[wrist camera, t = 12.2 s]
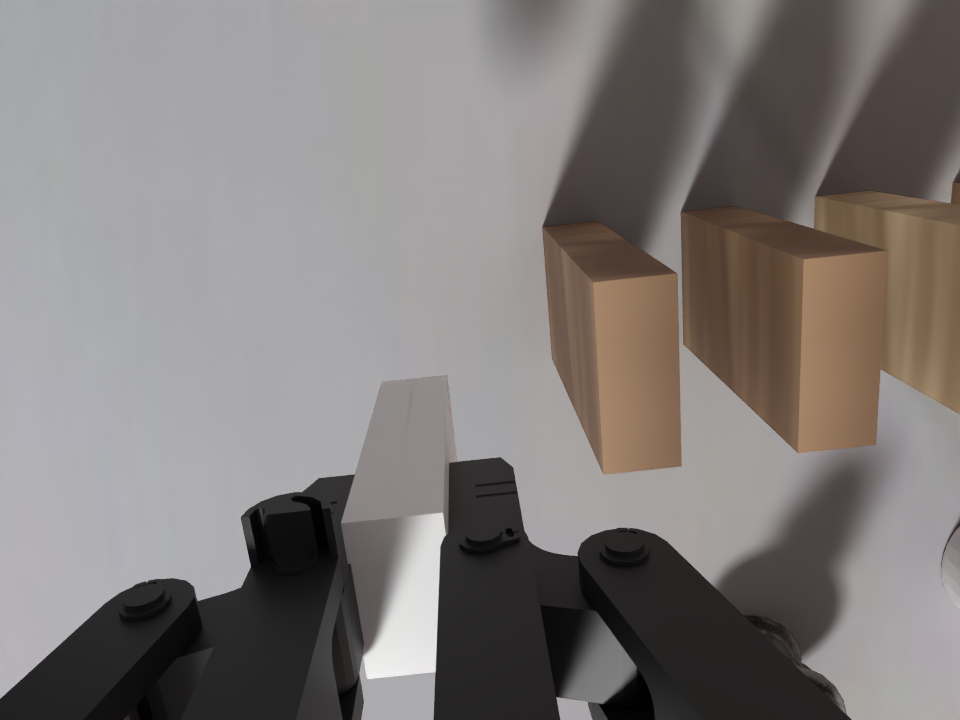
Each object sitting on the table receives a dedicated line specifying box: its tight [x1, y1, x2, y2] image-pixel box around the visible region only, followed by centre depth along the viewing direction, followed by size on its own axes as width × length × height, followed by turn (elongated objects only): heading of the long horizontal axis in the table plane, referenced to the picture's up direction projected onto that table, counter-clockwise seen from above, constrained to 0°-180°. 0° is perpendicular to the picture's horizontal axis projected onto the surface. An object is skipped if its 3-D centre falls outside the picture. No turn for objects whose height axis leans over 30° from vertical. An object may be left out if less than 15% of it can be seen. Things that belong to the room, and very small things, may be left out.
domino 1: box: [542, 221, 681, 475], centre depth 24 cm, size 2×5×10 cm, turn 6°
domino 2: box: [681, 206, 888, 453], centre depth 24 cm, size 2×5×10 cm, turn 5°
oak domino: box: [814, 191, 960, 414], centre depth 24 cm, size 2×5×10 cm, turn 6°
